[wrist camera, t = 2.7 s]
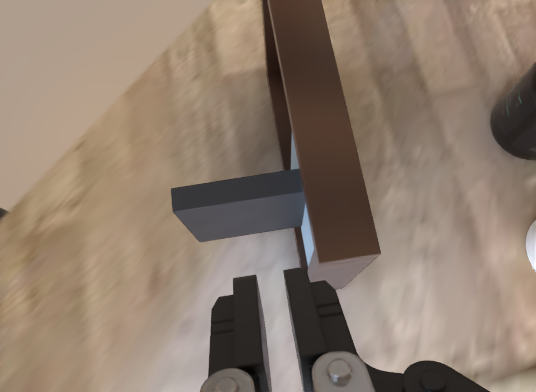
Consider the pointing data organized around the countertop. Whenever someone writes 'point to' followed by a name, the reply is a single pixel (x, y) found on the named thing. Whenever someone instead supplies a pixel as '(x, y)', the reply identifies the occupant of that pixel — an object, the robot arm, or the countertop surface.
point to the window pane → (245, 206)
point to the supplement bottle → (517, 117)
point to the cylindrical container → (531, 244)
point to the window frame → (318, 140)
